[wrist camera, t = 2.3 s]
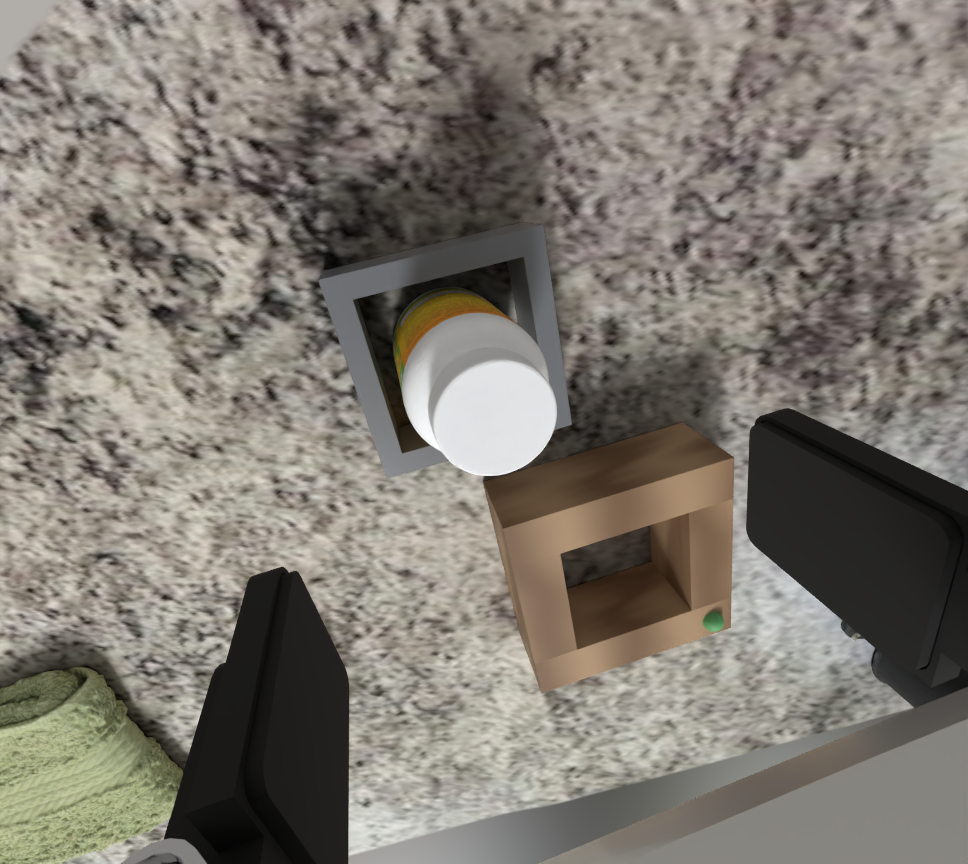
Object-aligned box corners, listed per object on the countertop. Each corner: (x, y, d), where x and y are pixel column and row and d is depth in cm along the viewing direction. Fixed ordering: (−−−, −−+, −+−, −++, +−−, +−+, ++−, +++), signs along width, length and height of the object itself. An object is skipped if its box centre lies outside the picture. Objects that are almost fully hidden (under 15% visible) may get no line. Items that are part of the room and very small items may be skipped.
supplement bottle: (368, 324, 23) (372, 397, 14) (469, 262, 23) (534, 298, 14) (430, 415, 26) (464, 524, 17) (521, 360, 25) (603, 441, 17)
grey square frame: (522, 222, 23) (543, 224, 20) (551, 402, 27) (571, 424, 24) (323, 270, 22) (318, 280, 19) (384, 449, 26) (386, 478, 23)
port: (682, 422, 29) (743, 463, 24) (687, 578, 34) (738, 636, 30) (482, 481, 28) (506, 537, 23) (520, 633, 33) (545, 704, 28)
